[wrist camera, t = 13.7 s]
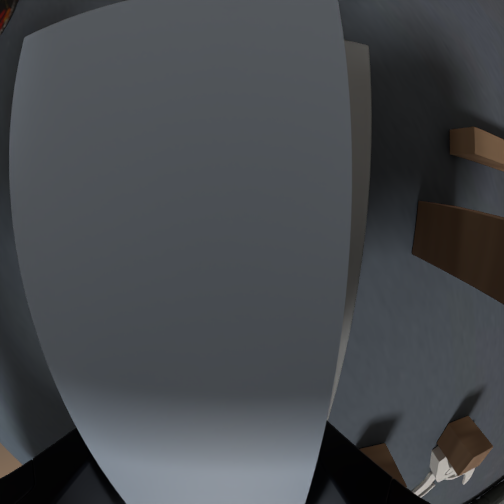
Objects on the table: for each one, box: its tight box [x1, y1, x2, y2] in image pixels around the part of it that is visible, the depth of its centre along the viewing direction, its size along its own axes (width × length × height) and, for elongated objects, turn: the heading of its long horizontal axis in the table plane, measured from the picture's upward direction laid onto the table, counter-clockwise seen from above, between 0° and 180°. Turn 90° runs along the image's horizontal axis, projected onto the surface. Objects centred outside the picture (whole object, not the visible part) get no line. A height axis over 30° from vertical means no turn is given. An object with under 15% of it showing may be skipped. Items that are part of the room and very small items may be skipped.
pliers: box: [412, 446, 475, 498], centre depth 15 cm, size 10×2×15 cm
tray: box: [327, 40, 371, 421], centre depth 9 cm, size 8×20×2 cm, turn 178°
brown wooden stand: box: [360, 127, 504, 487], centre depth 9 cm, size 9×18×5 cm, turn 178°
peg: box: [9, 0, 352, 504], centre depth 6 cm, size 4×16×4 cm, turn 1°
